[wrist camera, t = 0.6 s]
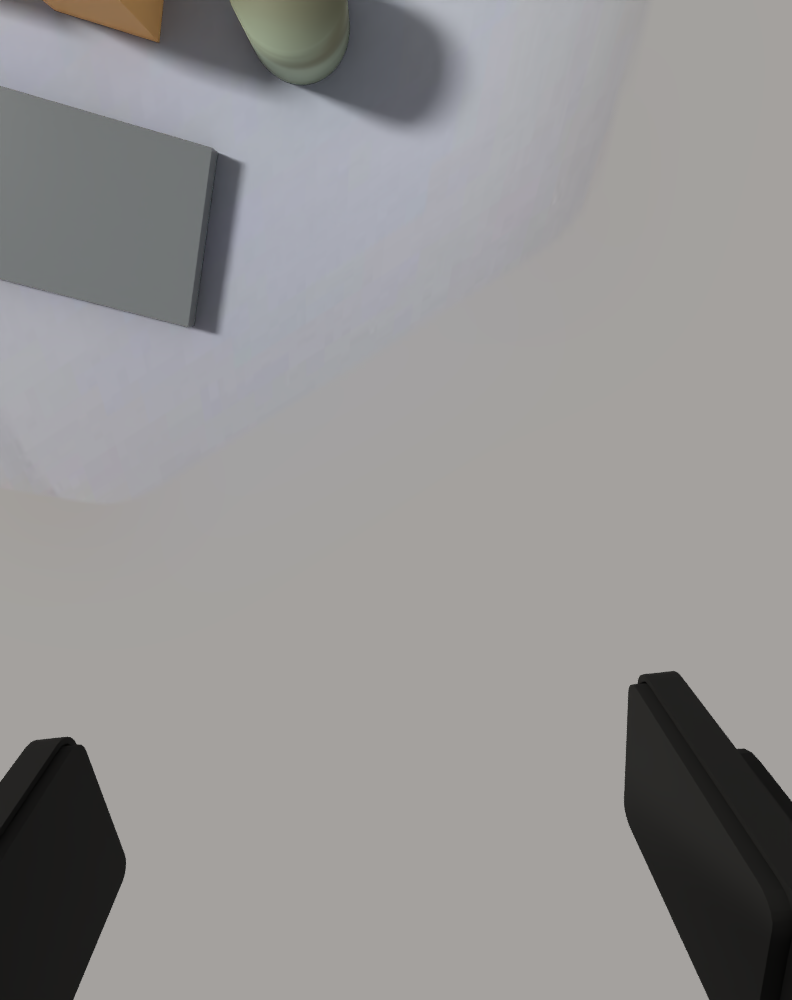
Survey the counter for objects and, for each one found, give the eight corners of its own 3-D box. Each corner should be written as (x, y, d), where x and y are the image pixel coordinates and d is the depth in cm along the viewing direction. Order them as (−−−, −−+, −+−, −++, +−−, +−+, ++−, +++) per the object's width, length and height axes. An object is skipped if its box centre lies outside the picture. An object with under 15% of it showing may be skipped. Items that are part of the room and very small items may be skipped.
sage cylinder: (257, -54, 28) (234, -119, 24) (359, -19, 29) (357, -77, 24) (239, 67, 30) (215, 28, 25) (337, 97, 31) (331, 64, 26)
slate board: (-109, 57, 29) (-128, 48, 28) (217, 152, 31) (211, 147, 30) (-104, 249, 32) (-121, 248, 31) (194, 325, 34) (187, 327, 33)
